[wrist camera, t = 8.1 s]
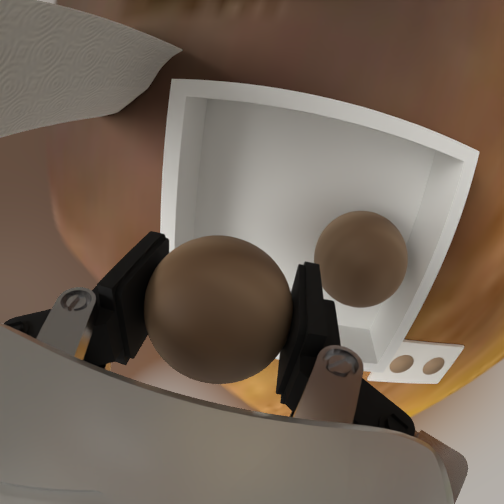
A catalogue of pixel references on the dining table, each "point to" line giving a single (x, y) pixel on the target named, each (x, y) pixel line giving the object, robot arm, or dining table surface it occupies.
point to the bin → (312, 187)
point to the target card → (419, 362)
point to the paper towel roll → (69, 65)
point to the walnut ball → (218, 309)
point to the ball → (361, 259)
